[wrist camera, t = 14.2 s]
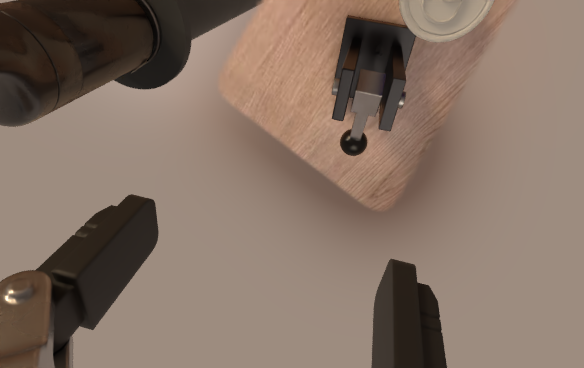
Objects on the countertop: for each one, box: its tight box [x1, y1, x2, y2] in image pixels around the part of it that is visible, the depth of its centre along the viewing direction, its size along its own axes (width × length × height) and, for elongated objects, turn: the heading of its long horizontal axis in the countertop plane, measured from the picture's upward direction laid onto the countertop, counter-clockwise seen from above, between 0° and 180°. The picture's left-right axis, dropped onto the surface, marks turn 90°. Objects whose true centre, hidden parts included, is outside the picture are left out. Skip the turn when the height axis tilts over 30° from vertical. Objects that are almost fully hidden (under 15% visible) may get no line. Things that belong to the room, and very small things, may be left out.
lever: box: [340, 69, 387, 156], centre depth 35 cm, size 11×3×3 cm
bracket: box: [332, 15, 416, 131], centre depth 34 cm, size 8×7×12 cm
